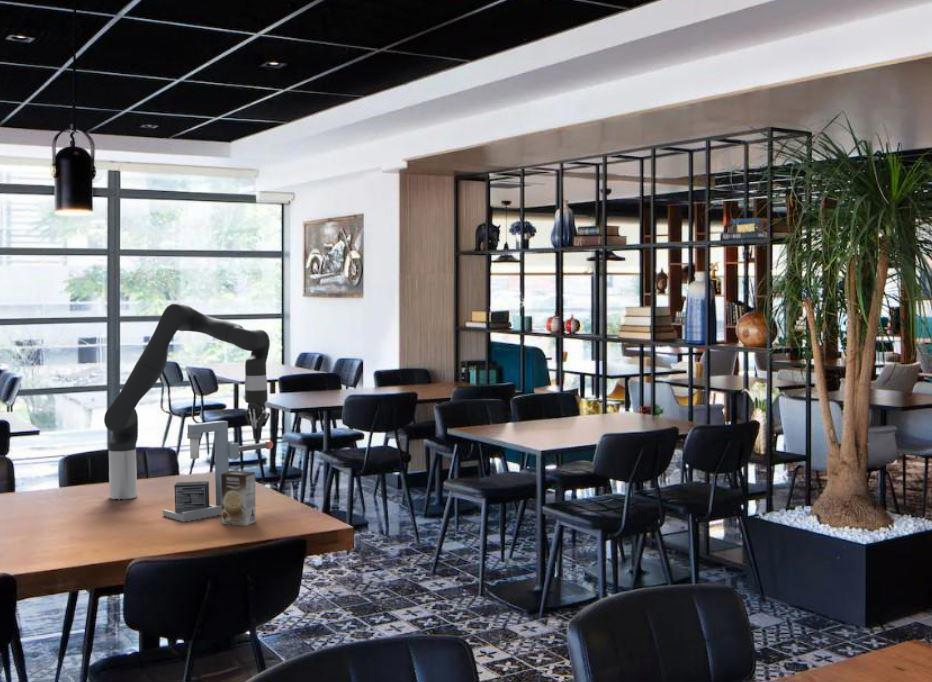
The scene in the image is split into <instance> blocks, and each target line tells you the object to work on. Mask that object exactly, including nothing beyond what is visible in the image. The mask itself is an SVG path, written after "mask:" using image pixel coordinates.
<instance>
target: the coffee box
mask: <svg viewBox="0 0 932 682" xmlns="http://www.w3.org/2000/svg"><path fill="white" fill-rule="evenodd" d="M221 489H222V515H221V524H224V525H231V524H232V525H231V526H233V525H234V526H245V527H246V526H249V525H251V524H253V523H256V521H257V520H256V519H257V518H256V516H257V513H256V472H255V471H243V470H232V469H231V470H229V471H228V472H225V473H223V474H221Z"/></svg>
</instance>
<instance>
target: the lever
mask: <svg viewBox="0 0 932 682" xmlns="http://www.w3.org/2000/svg"><path fill="white" fill-rule="evenodd" d="M273 446H274V443H273V441H272V440H267V441H265V442H260V443H254V444H252V443H251V444H244V445H239V453H241V452H247V451H249V452H250V451H255V450H263V449H266V450H271V449H272V448H273ZM228 454H229V446H228Z"/></svg>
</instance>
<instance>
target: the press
mask: <svg viewBox="0 0 932 682" xmlns="http://www.w3.org/2000/svg"><path fill="white" fill-rule="evenodd" d="M211 432H213V433H214V435H213V436H214V464H215V465H214V473H215V476H214V477H215V505H213V504H210V503H209V508H203V509H197V510H192V511H186V512H182V514H179V513H176V512H175V511H172V510H169V509H162V516H163V515H164V516H167V517H166V518H168V517H170V518H169V519H171V518H173V519H172V520H174V519H177V520H176V521H178V520H180V521H179V522H181V521H183V522H182V523H186V522H185V521H188V522H192V521H191V520H193V521H197V520H196V519H198V520H202V519H201V518H204V519H207V518H206V517H209V518H212V517H211V516H214V517H218V516H217V515H220V516H222V489H221V474H223V473H225V472H228V471H230V468H229V467H230V463H229V461H230V460H231V459H232V460H233V459H240V452H239V446H240V443H239V442H232V441H229V421H227V420H218V421H216V420H215V421H208V422H199V423H190V424H187V433H186V435H187V436H186V437H187V439H188V440H189V454H190V456H189V458H190V460H195V459H200V439H201V438H202V434H203V433H211ZM228 446H229V454H228ZM164 516H163V517H164Z"/></svg>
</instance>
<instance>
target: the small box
mask: <svg viewBox="0 0 932 682" xmlns="http://www.w3.org/2000/svg"><path fill="white" fill-rule="evenodd" d="M209 482H210V481H209V480H207V481H206V480H205V481H204V480H202V481H181V482H180V481H179V482H176V483H175V484H174V485H173V486H174V487H173V488H174V512H176V513H179V514H182V512H186V511H192V510H197V509H203V508H209V504H210V483H209Z"/></svg>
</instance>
